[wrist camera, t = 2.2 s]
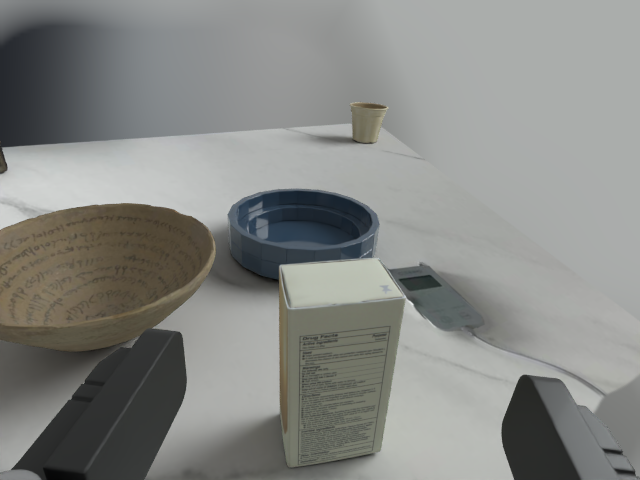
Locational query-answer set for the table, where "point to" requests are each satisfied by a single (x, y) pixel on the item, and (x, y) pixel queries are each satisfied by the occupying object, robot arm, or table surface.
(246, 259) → the serving bowl
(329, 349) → the cosmetic box
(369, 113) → the flower pot
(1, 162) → the juice carton
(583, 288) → the table surface
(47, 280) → the bowl
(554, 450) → the robot arm
